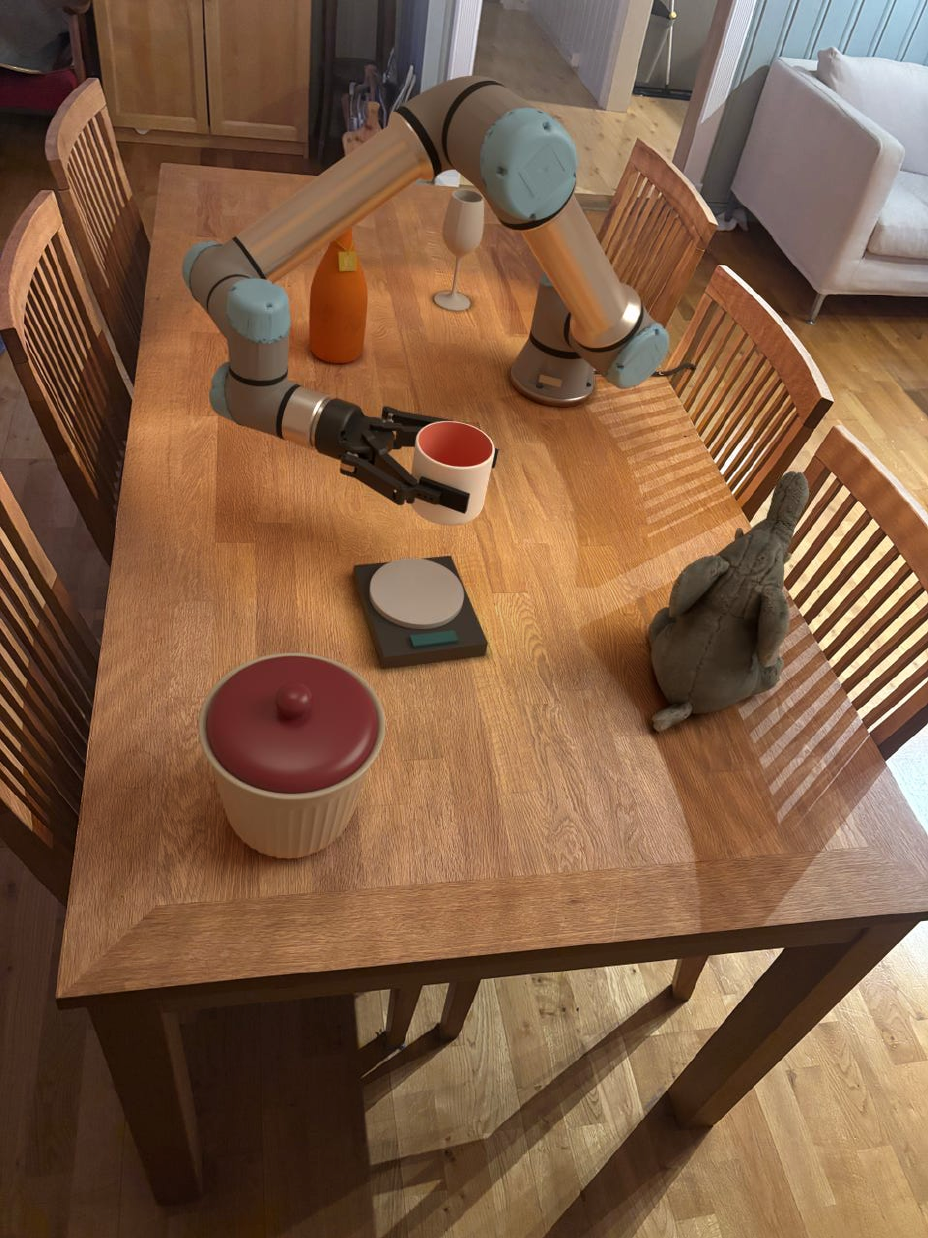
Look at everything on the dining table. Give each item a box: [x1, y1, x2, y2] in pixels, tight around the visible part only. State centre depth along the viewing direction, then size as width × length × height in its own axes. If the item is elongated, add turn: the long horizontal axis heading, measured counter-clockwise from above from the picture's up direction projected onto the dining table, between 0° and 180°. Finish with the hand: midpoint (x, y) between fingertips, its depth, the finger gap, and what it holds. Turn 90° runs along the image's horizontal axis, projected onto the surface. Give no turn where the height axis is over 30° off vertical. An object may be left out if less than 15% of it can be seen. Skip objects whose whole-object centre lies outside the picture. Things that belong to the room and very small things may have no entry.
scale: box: [352, 555, 489, 670], centre depth 130 cm, size 14×17×3 cm
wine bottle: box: [308, 227, 369, 364], centre depth 163 cm, size 10×10×30 cm
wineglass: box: [433, 188, 485, 312], centre depth 185 cm, size 8×8×21 cm
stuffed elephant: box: [647, 470, 810, 733], centre depth 122 cm, size 19×21×27 cm
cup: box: [410, 420, 496, 527], centre depth 125 cm, size 10×10×10 cm
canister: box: [197, 651, 386, 860], centre depth 99 cm, size 18×18×21 cm
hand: (482, 480), depth 123 cm, fingers closed on cup, 10 cm apart
